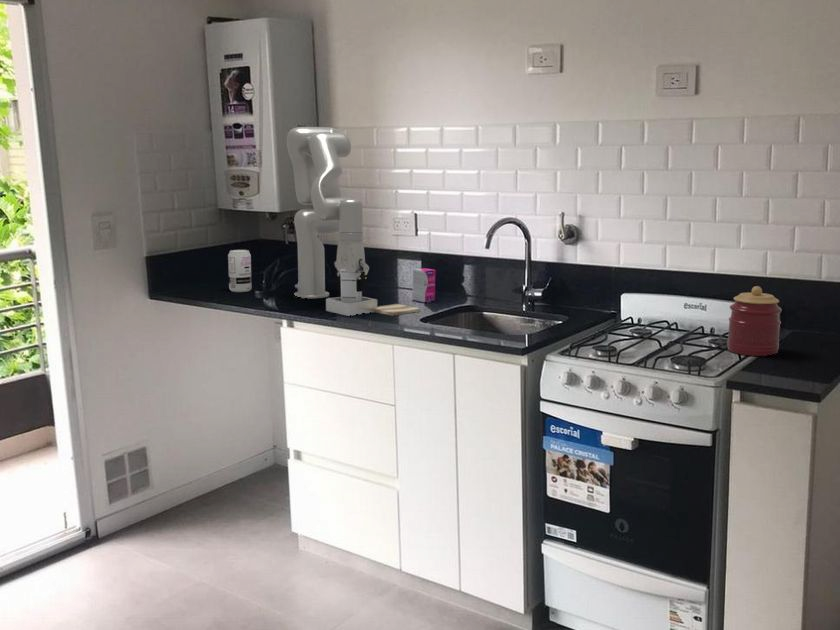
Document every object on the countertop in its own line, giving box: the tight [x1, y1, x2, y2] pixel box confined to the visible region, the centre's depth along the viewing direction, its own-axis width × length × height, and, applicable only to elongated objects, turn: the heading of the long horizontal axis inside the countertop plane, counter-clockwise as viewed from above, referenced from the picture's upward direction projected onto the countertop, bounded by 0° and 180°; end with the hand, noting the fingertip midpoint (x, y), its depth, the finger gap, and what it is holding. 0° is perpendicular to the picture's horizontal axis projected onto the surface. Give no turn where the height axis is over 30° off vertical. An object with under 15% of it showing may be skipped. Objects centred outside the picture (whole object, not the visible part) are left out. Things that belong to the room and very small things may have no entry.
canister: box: [726, 285, 783, 357], centre depth 235 cm, size 13×13×18 cm
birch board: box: [374, 303, 421, 317], centre depth 293 cm, size 12×12×1 cm
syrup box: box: [340, 269, 363, 303], centre depth 291 cm, size 6×6×14 cm
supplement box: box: [412, 267, 437, 304], centre depth 311 cm, size 6×6×12 cm
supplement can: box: [227, 249, 253, 293], centre depth 332 cm, size 8×8×15 cm
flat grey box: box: [325, 296, 378, 317], centre depth 295 cm, size 19×12×4 cm, turn 41°
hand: (351, 289), depth 291 cm, fingers open, 9 cm apart
